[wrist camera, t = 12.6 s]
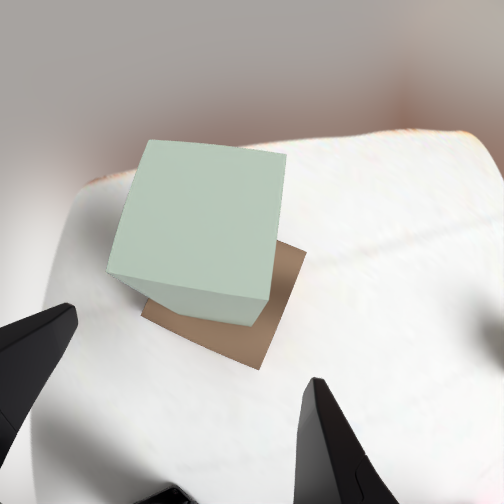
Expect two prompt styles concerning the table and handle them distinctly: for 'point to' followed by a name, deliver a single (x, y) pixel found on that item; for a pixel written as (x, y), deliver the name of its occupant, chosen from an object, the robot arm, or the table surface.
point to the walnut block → (231, 335)
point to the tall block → (201, 229)
